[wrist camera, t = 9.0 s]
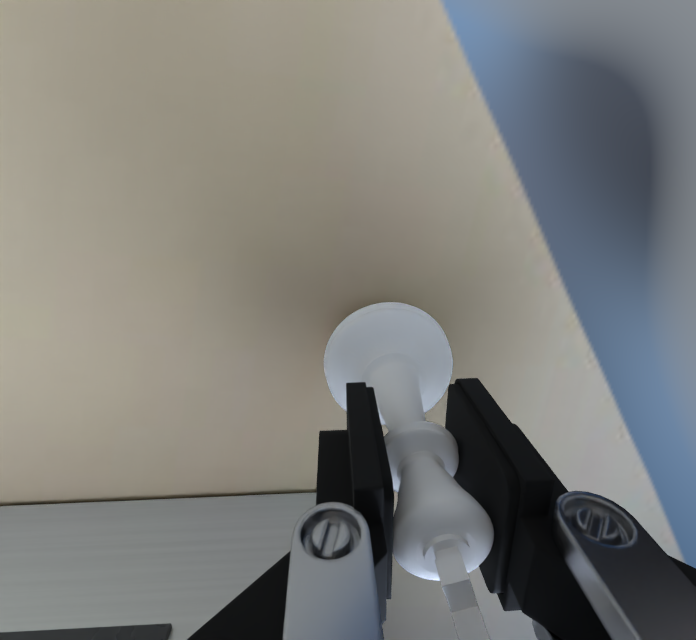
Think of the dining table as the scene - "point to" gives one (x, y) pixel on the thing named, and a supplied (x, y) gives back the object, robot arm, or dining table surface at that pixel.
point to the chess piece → (416, 447)
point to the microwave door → (136, 563)
